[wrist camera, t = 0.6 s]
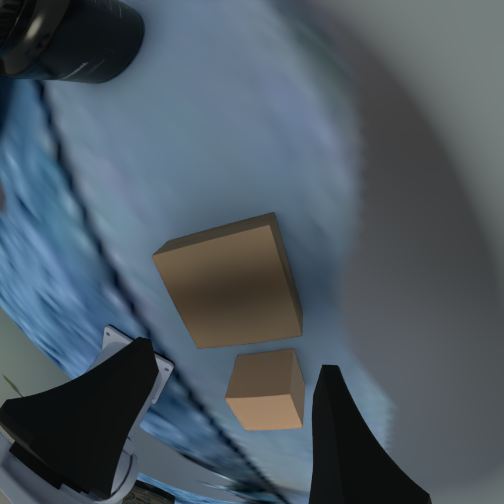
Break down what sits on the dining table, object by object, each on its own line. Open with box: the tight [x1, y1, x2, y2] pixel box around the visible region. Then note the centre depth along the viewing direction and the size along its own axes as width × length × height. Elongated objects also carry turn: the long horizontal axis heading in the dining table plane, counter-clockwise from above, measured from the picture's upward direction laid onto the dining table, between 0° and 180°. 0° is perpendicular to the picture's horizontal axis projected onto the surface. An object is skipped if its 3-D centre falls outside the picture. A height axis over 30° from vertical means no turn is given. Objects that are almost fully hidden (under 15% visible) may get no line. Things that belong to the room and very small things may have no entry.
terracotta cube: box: [225, 348, 305, 430], centre depth 21 cm, size 5×5×5 cm
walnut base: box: [152, 212, 303, 349], centre depth 19 cm, size 8×8×3 cm
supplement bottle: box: [0, 0, 143, 83], centre depth 9 cm, size 7×7×12 cm
